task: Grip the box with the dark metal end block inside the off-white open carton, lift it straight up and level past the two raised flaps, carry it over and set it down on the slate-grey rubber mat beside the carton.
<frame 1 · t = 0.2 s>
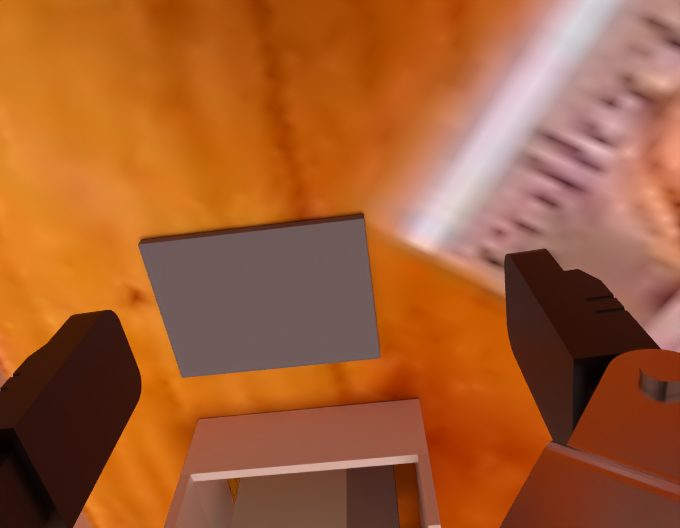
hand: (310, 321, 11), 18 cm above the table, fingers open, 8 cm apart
carton: (322, 481, 39), on the table
mat: (267, 298, 32), on the table
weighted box: (322, 480, 39), resting in carton
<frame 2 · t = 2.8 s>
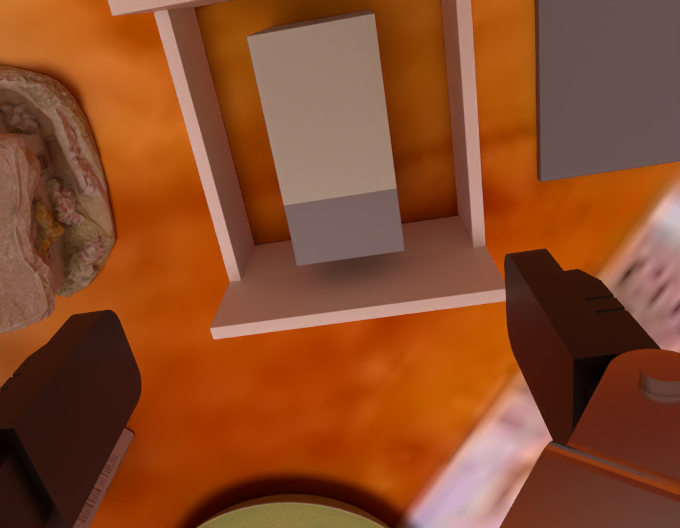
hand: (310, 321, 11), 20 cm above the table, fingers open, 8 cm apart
carton: (336, 119, 30), on the table
mat: (627, 50, 28), on the table
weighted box: (336, 119, 30), resting in carton
ceramic model: (20, 189, 32), on the table
coffee box: (69, 445, 41), on the table
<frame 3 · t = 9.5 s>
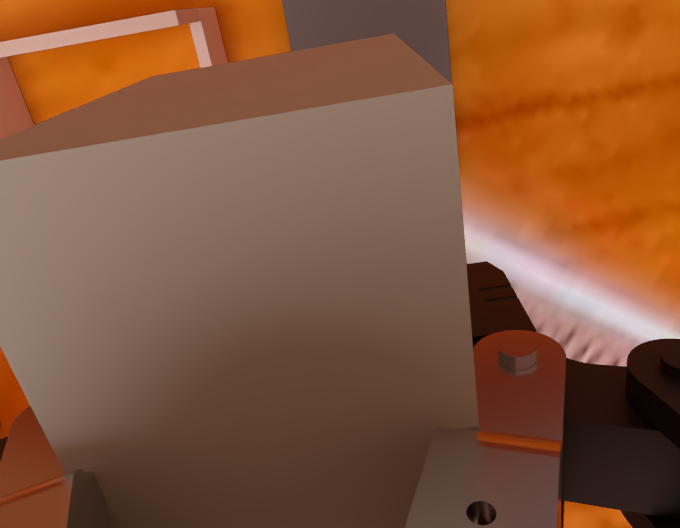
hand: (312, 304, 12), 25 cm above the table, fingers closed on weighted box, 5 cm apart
carton: (141, 148, 35), on the table
mat: (375, 91, 34), on the table
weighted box: (315, 274, 13), point 23 cm above the table, touching gripper
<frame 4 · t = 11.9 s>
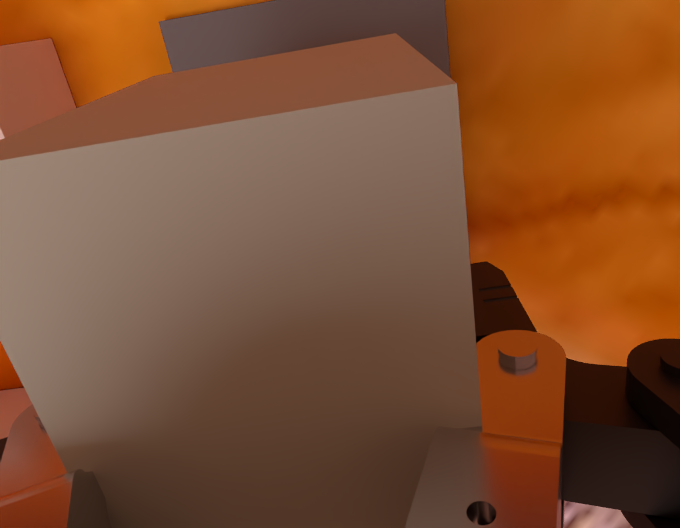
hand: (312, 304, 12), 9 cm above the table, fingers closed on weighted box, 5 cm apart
mat: (330, 175, 21), on the table
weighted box: (317, 273, 13), point 8 cm above the table, touching gripper
when the fingers open (3 cm above the table, at t = 13.9 s): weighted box drops 1 cm, resting on mat.
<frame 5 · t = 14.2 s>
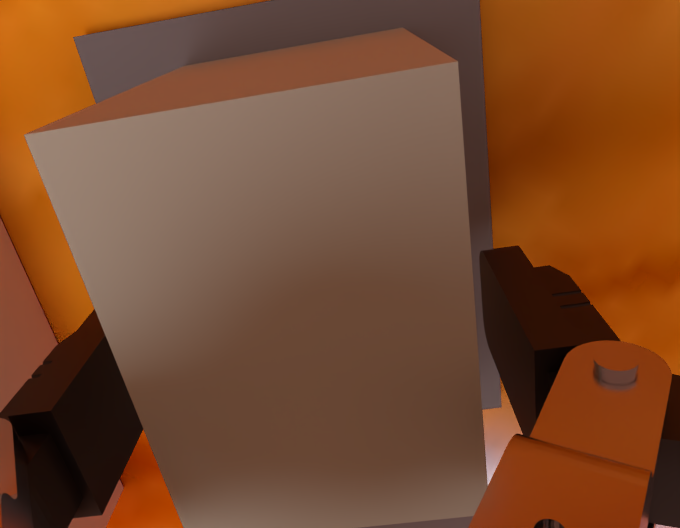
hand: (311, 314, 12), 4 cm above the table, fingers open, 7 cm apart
mat: (319, 240, 15), on the table
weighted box: (329, 247, 15), point 1 cm above the table, touching mat
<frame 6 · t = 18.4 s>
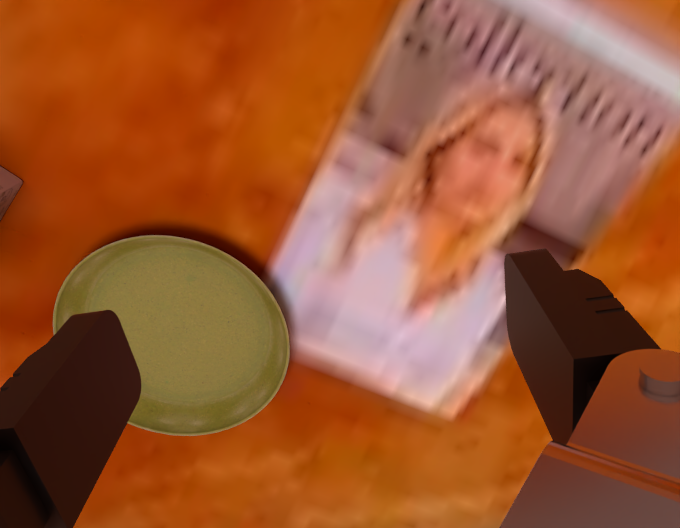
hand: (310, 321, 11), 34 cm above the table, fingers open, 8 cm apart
saucer: (182, 324, 52), on the table
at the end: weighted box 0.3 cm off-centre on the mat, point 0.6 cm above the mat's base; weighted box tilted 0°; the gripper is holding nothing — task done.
